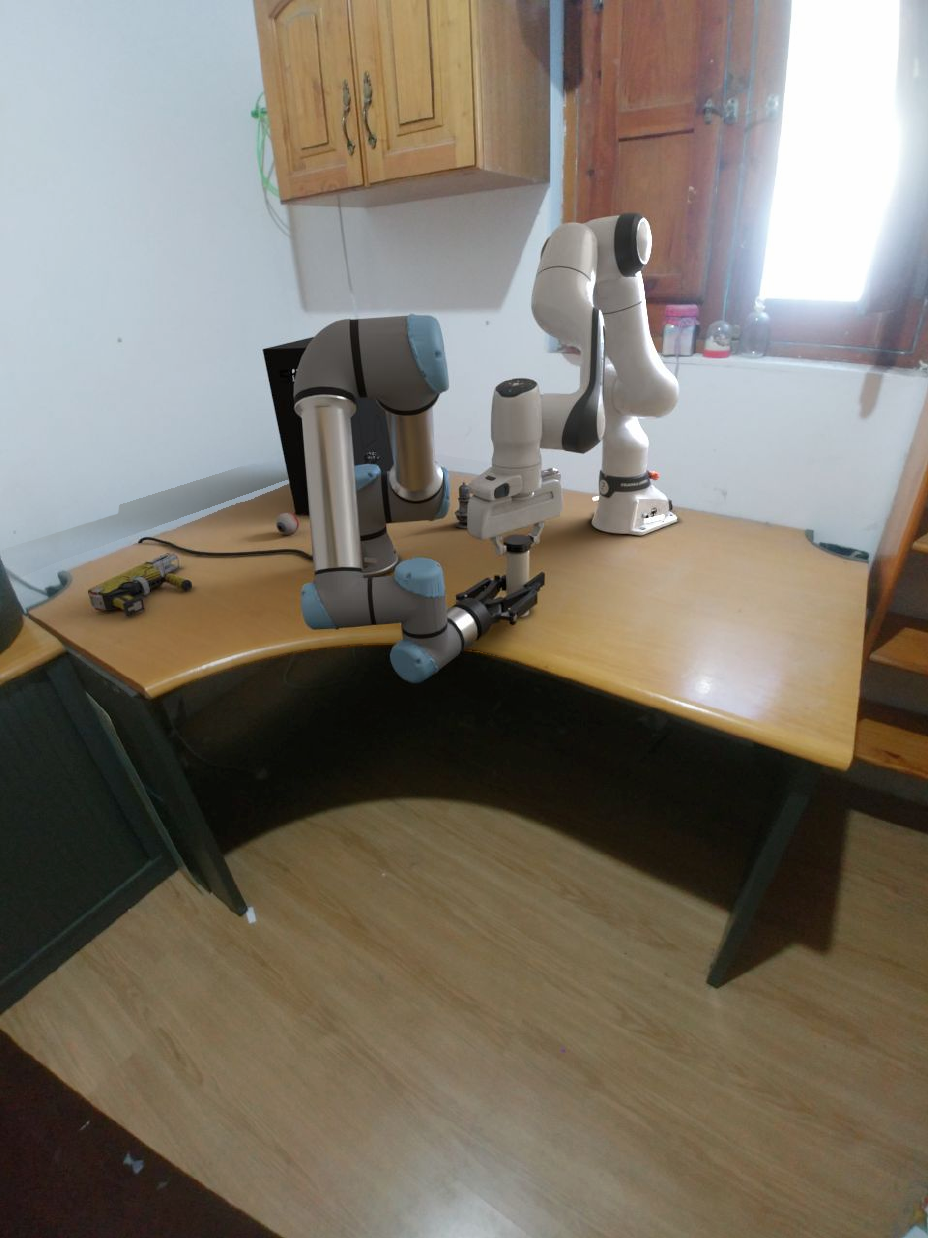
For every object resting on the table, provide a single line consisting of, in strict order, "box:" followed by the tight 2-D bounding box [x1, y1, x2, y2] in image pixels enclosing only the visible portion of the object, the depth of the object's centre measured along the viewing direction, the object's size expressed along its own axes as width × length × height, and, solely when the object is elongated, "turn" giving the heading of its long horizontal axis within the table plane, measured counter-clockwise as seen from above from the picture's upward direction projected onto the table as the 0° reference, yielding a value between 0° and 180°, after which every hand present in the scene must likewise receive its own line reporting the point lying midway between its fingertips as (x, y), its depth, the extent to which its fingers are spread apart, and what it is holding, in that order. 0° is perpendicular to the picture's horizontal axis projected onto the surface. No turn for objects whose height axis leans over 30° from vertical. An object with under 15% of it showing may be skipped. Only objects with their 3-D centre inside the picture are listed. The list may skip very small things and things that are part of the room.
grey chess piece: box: [454, 481, 472, 529], centre depth 161 cm, size 6×6×12 cm
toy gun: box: [87, 552, 193, 618], centre depth 137 cm, size 5×24×15 cm
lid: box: [502, 533, 532, 553], centre depth 114 cm, size 5×5×2 cm
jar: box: [504, 550, 530, 618], centre depth 118 cm, size 5×5×15 cm
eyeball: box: [275, 511, 300, 536], centre depth 163 cm, size 6×6×6 cm
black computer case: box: [262, 336, 394, 515], centre depth 181 cm, size 38×20×45 cm, turn 167°
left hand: (531, 575), depth 122 cm, fingers closed on jar, 5 cm apart
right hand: (517, 548), depth 115 cm, fingers open, 7 cm apart
